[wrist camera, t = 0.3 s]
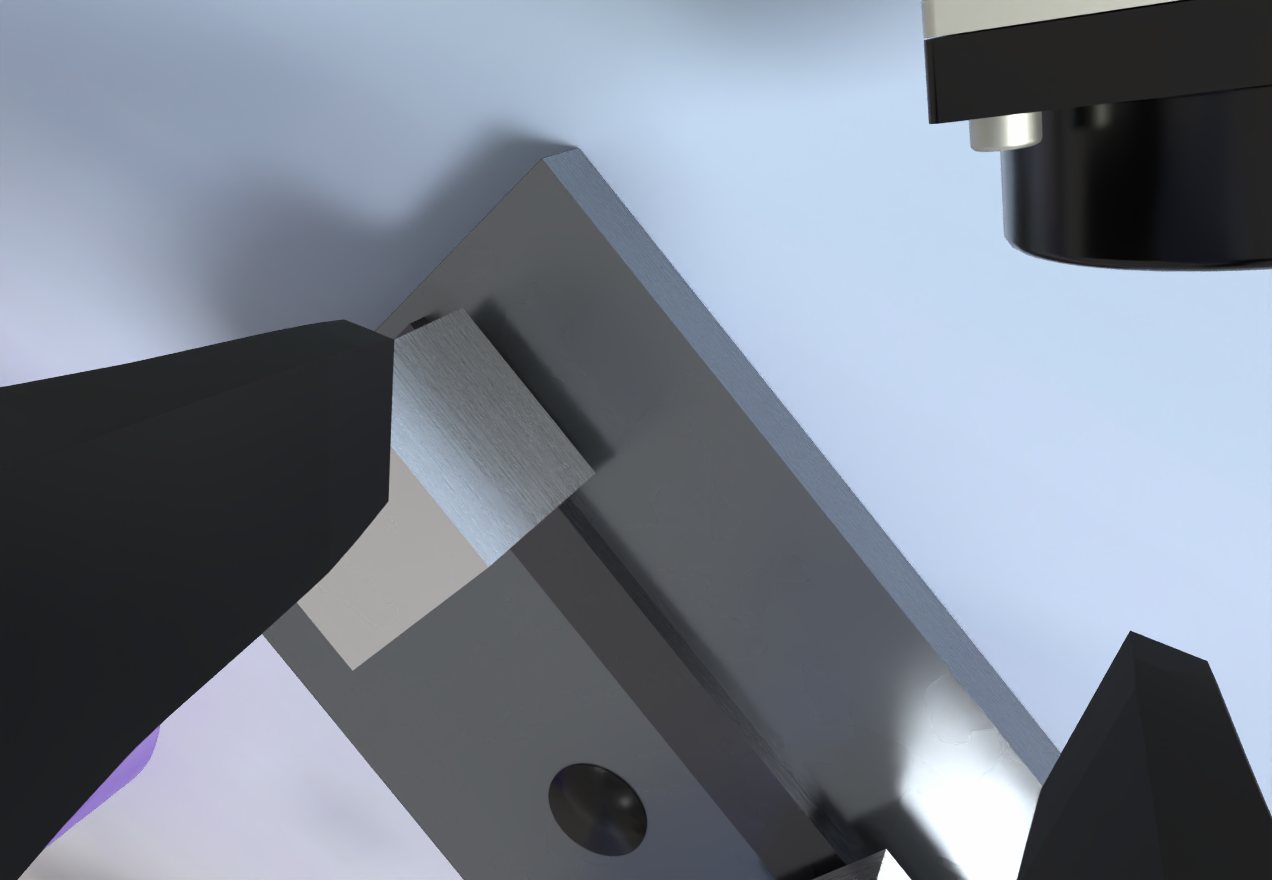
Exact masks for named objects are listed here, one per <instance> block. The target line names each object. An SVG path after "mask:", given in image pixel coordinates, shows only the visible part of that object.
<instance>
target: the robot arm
mask: <svg viewBox="0 0 1272 880" xmlns="http://www.w3.org/2000/svg"><path fill="white" fill-rule="evenodd" d="M393 365H394V339H392V338H389V337H387V336H384V335H382V334H379V333H377V332H374V331H372V330H369V329H367V328H364V327H362V326H359V325H357V324H354V323H351V322H349V321H346V320H337V321H329V322H321V323H315V324H309V325H304V326H298V327H293V328H288V329H283V330H278V331H273V332H268V333H264V334H259V335H254V336H250V337H245V338H241V339H236V340H232V341H227V342H223V343H218V344H214V345H209V346H205V347H200V348H196V349H191V350H186V351H182V352H177V353H173V354H168V355H164V356H159V357H155V358H150V359H146V360H141V361H137V362H132V363H127V364H122V365H117V366H112V367H107V368H101V369H96V370H91V371H85V372H80V373H75V374H69V375H64V376H59V377H54V378H48V379H43V380H38V381H32V382H27V383H22V384H16V385H11V386H5V387H0V880H18V878H19V877H20V876H21V875H22V874H23V873H24V871H25V870H26V869H27V868H28V867H29V866H30V864H31V863H32V862H33V861H34V860H35V859H36V858H37V856H38V855H39V854H40V853H41V852H42V851H43V849H44V848H45V847H46V846H47V845H48V844H49V842H50V841H51V840H52V839H53V838H54V837H55V836H56V834H57V833H58V832H59V831H60V830H61V829H62V827H63V826H64V825H65V824H66V823H67V822H68V821H69V820H70V819H71V818H72V817H73V815H74V814H75V813H76V812H77V811H78V810H79V809H80V808H81V807H82V806H83V805H84V803H85V802H86V801H87V800H88V799H89V798H90V797H91V796H92V795H93V794H94V793H95V791H96V790H97V789H98V788H99V787H100V786H101V785H102V784H103V783H104V782H105V781H106V779H107V778H108V777H109V776H110V775H111V774H112V773H113V772H114V771H115V770H116V769H117V767H118V766H119V765H120V764H121V763H122V762H123V761H124V760H125V759H126V758H127V757H128V756H129V754H130V753H131V752H132V751H133V750H134V749H135V748H136V747H137V746H139V745H140V744H141V743H142V742H143V741H144V740H145V739H146V738H147V737H148V736H149V735H150V734H151V733H152V732H153V731H154V730H155V729H156V728H157V727H158V726H159V725H160V724H161V723H162V722H163V721H164V720H165V719H166V718H168V717H169V716H170V715H171V714H172V713H173V712H174V711H175V710H177V709H178V708H179V707H180V706H181V705H182V704H183V703H184V702H186V701H187V700H188V699H189V698H190V697H191V696H192V695H193V694H195V693H196V692H197V691H198V690H199V689H200V688H201V687H202V686H204V685H205V684H206V683H207V682H208V681H209V680H210V679H211V678H213V677H214V676H215V675H216V674H217V673H218V672H219V671H220V670H222V669H223V668H224V667H225V666H226V665H227V664H228V663H229V662H231V661H232V660H233V659H234V658H235V657H236V656H237V655H239V654H240V653H241V652H242V651H243V650H244V649H245V648H246V647H248V646H249V645H250V644H251V643H252V642H253V641H254V640H255V639H257V638H258V637H259V636H260V635H261V634H262V633H263V632H264V631H266V630H267V629H268V628H269V627H270V626H271V625H272V624H273V623H275V622H276V621H277V620H278V619H279V618H280V617H281V616H282V615H283V614H284V613H286V612H287V611H288V610H289V609H290V608H291V607H292V606H293V605H294V604H295V603H297V602H298V601H299V600H300V599H301V598H302V597H303V596H304V595H305V594H307V593H308V592H309V591H310V590H311V589H312V588H313V587H314V586H315V585H316V584H317V583H318V582H319V581H321V580H322V579H323V578H324V577H325V576H326V575H327V574H328V573H329V572H330V571H331V570H332V569H333V567H334V566H335V565H336V564H337V563H338V562H339V561H340V559H341V558H342V557H343V556H344V555H345V554H346V553H347V551H348V550H349V549H350V548H351V547H352V546H353V545H354V543H355V542H356V541H357V540H358V539H359V537H360V536H361V535H362V534H363V533H364V531H365V530H366V529H367V528H368V526H369V525H370V524H371V523H372V521H373V520H374V519H375V518H376V516H377V515H378V514H379V513H380V511H381V510H382V509H383V508H384V506H385V505H386V504H387V503H388V502H389V476H390V448H391V421H392V393H393ZM1017 880H1272V816H1271V814H1270V811H1269V809H1268V807H1267V804H1266V802H1265V800H1264V797H1263V795H1262V793H1261V790H1260V788H1259V785H1258V783H1257V781H1256V778H1255V776H1254V773H1253V771H1252V769H1251V766H1250V764H1249V761H1248V759H1247V756H1246V754H1245V752H1244V749H1243V747H1242V744H1241V742H1240V739H1239V737H1238V734H1237V732H1236V729H1235V727H1234V724H1233V722H1232V719H1231V717H1230V714H1229V712H1228V709H1227V707H1226V704H1225V702H1224V699H1223V697H1222V694H1221V692H1220V689H1219V687H1218V684H1217V682H1216V680H1215V677H1214V675H1213V673H1212V671H1211V668H1210V666H1209V664H1208V662H1207V661H1206V660H1203V659H1200V658H1198V657H1195V656H1193V655H1190V654H1188V653H1185V652H1183V651H1180V650H1178V649H1175V648H1173V647H1170V646H1168V645H1165V644H1163V643H1160V642H1158V641H1155V640H1152V639H1150V638H1147V637H1145V636H1142V635H1140V634H1137V633H1135V632H1132V631H1130V632H1129V634H1128V635H1127V637H1126V639H1125V641H1124V642H1123V644H1122V646H1121V648H1120V650H1119V651H1118V653H1117V655H1116V657H1115V659H1114V660H1113V662H1112V664H1111V666H1110V667H1109V669H1108V671H1107V673H1106V674H1105V676H1104V678H1103V680H1102V682H1101V683H1100V685H1099V687H1098V689H1097V691H1096V692H1095V694H1094V696H1093V698H1092V699H1091V701H1090V703H1089V705H1088V707H1087V708H1086V710H1085V712H1084V714H1083V715H1082V717H1081V719H1080V721H1079V723H1078V724H1077V726H1076V728H1075V730H1074V731H1073V733H1072V735H1071V737H1070V739H1069V740H1068V742H1067V744H1066V746H1065V747H1064V749H1063V751H1062V753H1061V755H1060V756H1059V758H1058V760H1057V762H1056V763H1055V765H1054V767H1053V769H1052V771H1051V772H1050V774H1049V776H1048V778H1047V779H1046V781H1045V783H1044V785H1043V787H1042V788H1041V790H1040V793H1039V797H1038V801H1037V804H1036V808H1035V812H1034V816H1033V819H1032V823H1031V827H1030V830H1029V834H1028V838H1027V841H1026V845H1025V849H1024V853H1023V857H1022V861H1021V865H1020V868H1019V872H1018V876H1017Z"/></svg>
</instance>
